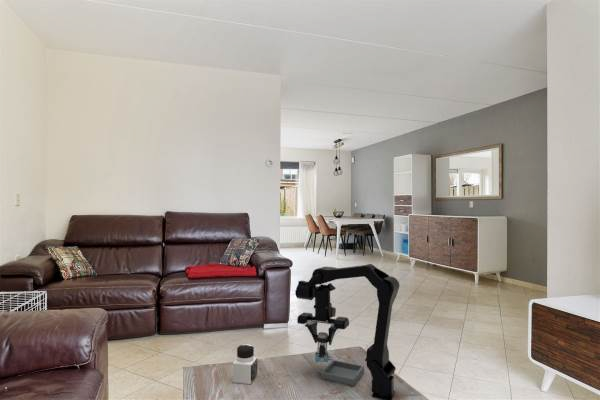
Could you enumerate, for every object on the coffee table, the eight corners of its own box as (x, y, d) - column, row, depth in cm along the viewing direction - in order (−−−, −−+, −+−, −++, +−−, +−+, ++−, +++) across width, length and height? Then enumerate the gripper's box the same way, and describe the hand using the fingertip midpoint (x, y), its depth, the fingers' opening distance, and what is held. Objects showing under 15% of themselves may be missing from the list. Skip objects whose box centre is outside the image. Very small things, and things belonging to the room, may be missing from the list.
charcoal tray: (364, 372, 141) (364, 365, 141) (353, 386, 130) (353, 379, 130) (333, 365, 147) (333, 359, 147) (320, 379, 135) (320, 372, 136)
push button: (331, 358, 139) (332, 331, 139) (333, 364, 134) (334, 336, 134) (313, 357, 139) (315, 331, 139) (315, 363, 134) (316, 336, 134)
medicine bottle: (251, 384, 131) (251, 350, 131) (232, 382, 132) (232, 349, 133) (257, 375, 138) (257, 343, 138) (239, 373, 139) (239, 341, 140)
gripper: (353, 299, 140) (353, 340, 140) (308, 294, 148) (309, 333, 148) (343, 306, 130) (344, 350, 130) (296, 301, 138) (296, 343, 138)
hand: (323, 343), depth 137 cm, fingers closed on push button, 5 cm apart
